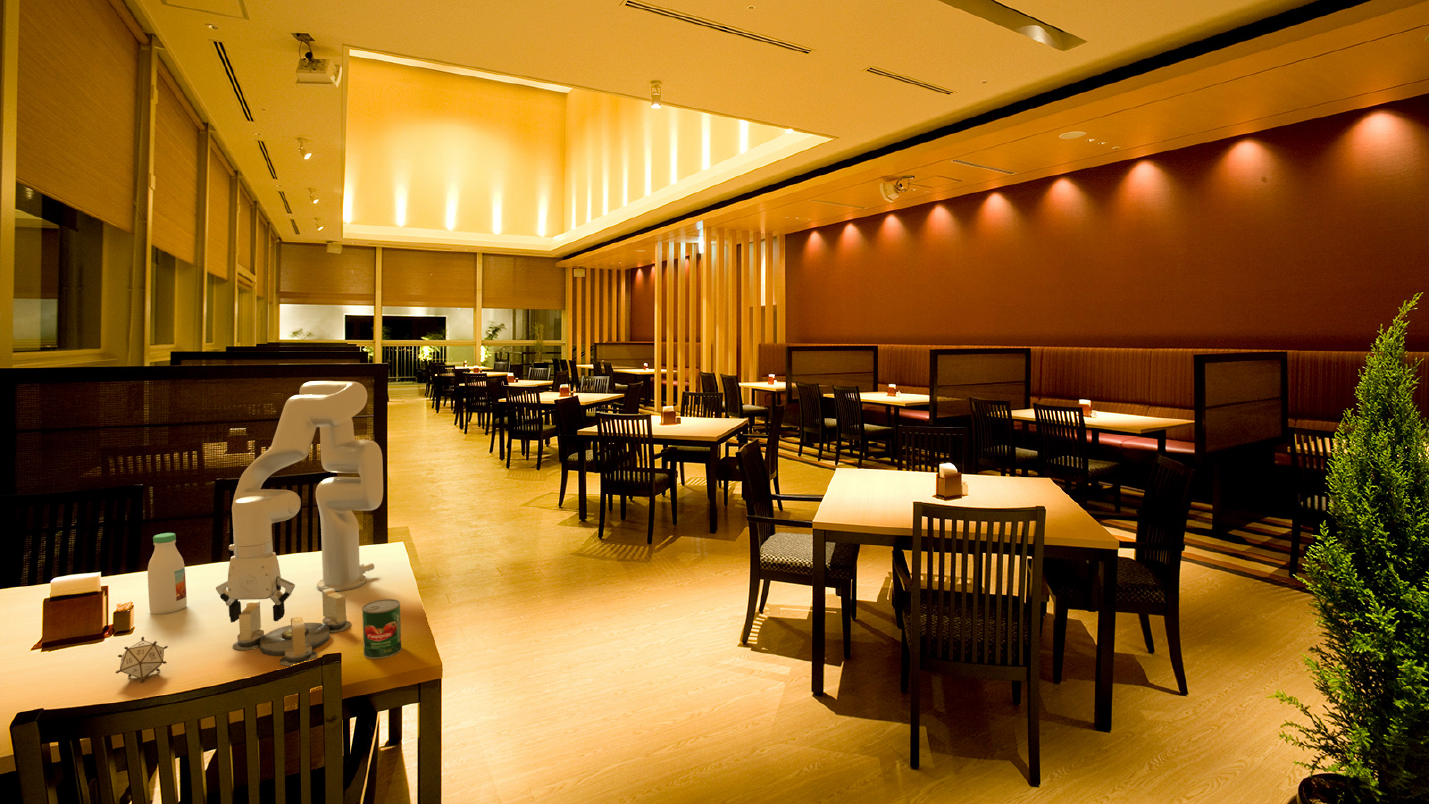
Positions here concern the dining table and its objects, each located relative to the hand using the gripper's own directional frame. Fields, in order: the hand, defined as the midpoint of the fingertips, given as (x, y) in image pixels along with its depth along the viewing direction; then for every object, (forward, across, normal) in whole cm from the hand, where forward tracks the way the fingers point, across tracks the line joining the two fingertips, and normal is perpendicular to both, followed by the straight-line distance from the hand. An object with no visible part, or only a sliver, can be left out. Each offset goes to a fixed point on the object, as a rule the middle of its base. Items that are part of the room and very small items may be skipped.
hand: (257, 619), depth 165 cm
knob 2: (+4, +15, -12) cm, 19 cm away
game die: (+5, -13, -19) cm, 23 cm away
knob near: (+5, +15, +6) cm, 17 cm away
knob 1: (+5, 0, -3) cm, 5 cm away
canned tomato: (+5, +32, -9) cm, 34 cm away
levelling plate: (+5, +11, -1) cm, 12 cm away
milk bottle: (+5, -33, +20) cm, 39 cm away
